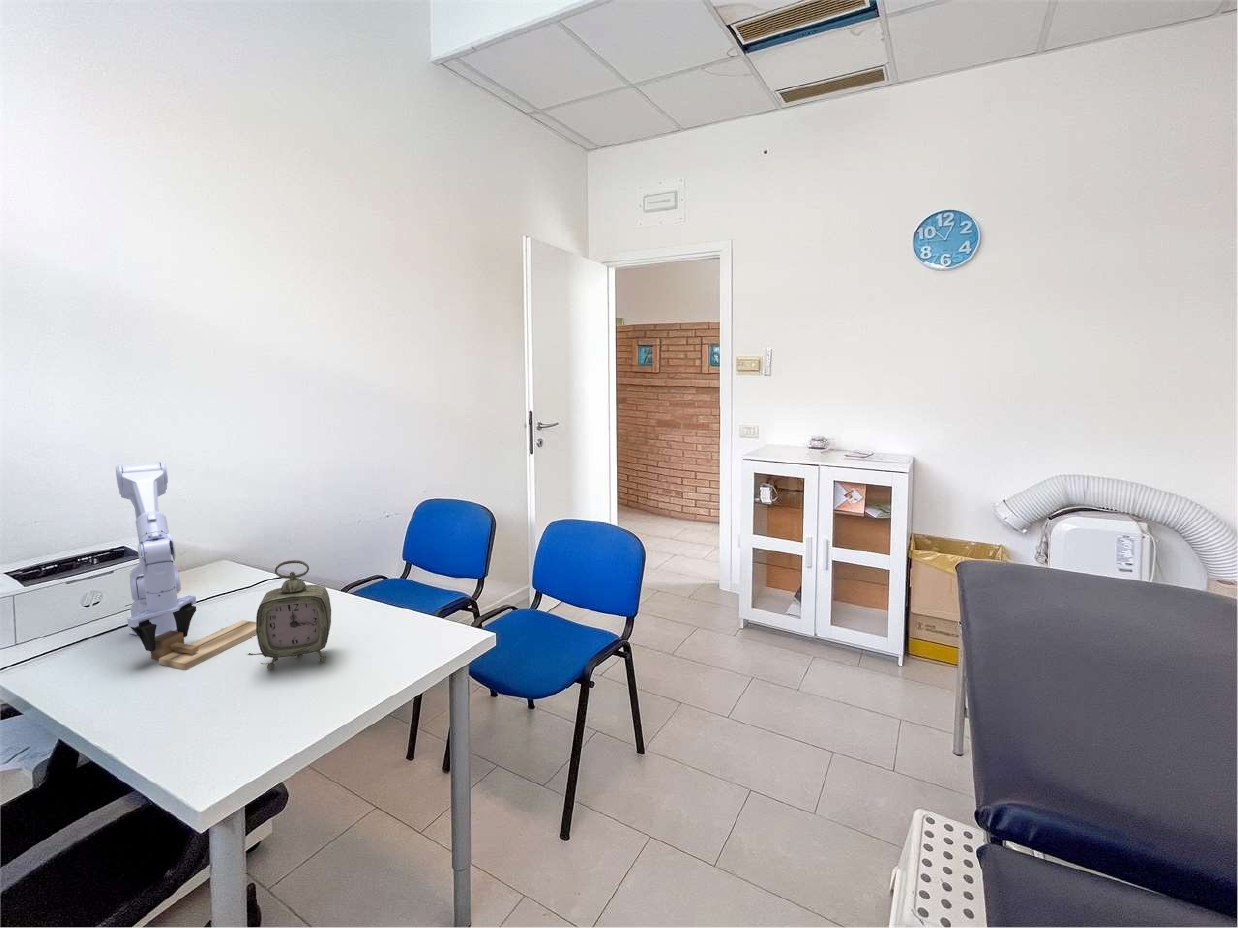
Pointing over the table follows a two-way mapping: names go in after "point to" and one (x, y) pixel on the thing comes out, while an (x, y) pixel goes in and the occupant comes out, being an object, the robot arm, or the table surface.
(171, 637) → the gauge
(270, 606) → the tabletop clock
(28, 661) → the table surface
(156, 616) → the robot arm
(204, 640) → the board
